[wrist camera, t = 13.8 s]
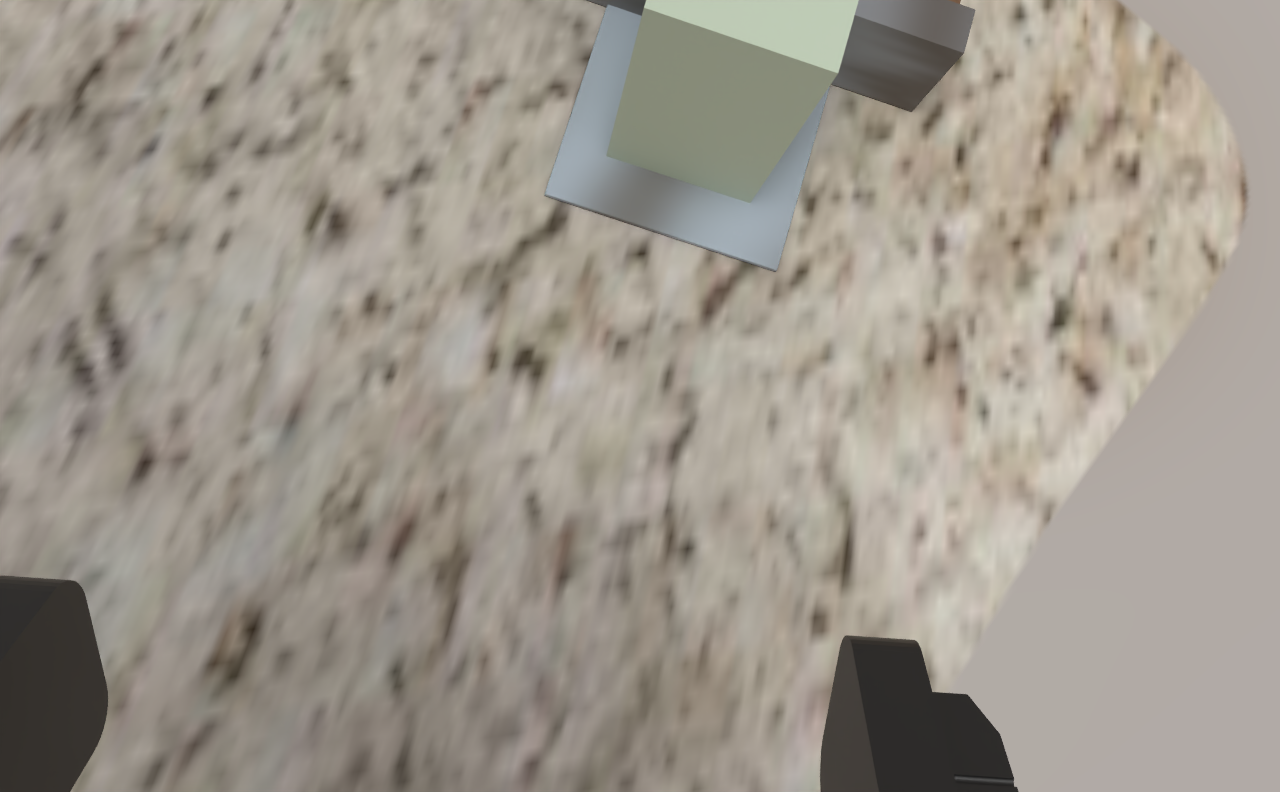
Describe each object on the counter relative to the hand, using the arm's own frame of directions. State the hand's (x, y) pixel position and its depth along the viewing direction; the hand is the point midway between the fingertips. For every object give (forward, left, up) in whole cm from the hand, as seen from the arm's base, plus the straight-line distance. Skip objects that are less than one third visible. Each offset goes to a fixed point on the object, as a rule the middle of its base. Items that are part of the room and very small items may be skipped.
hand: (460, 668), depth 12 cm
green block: (+2, +17, -23) cm, 29 cm away
